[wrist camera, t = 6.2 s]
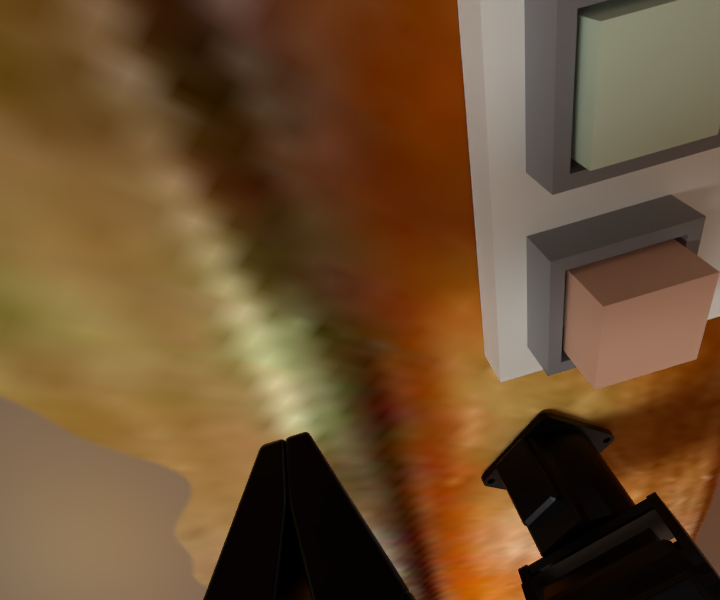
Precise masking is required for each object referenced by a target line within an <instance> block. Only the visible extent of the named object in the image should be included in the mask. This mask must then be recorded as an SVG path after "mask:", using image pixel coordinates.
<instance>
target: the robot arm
mask: <svg viewBox="0 0 720 600" xmlns="http://www.w3.org/2000/svg"><path fill="white" fill-rule="evenodd" d="M613 440H614V436H613V435H612V433H611V432H610V431H609V430H606V429H602V428H599V427H595V426H592V425H588V424H585V423H581V422H578V421H574V420H571V419H567V418H564V417H560V416H557V415H553V414H550V413H542V414H540V415H538V416H537V417H536V418H535V419H534V420H533V421H532V422H531V424H530V425H529V426H528V427H527V428H526V429H525V430H524V431H523V432H522V433H521V434H520V435H519V436H518V438H517V439H516V440H515V441H514V442H513V443H512V444H511V445H510V446H509V447H508V448H507V449H506V450H505V451H504V453H503V454H502V455H501V456H500V457H499V458H498V459H497V460H496V461H495V462H494V463H493V464H492V465H491V467H490V468H489V469H488V470H487V471H486V472H485V473H484V474H483V475H482V477H481V479H482V481H483V483H484V485H485V486H489V487H494V488H499V489H505V490H507V492H508V494H509V496H510V498H511V500H512V502H513V504H514V506H515V508H516V510H517V512H518V514H519V516H520V518H521V520H522V522H523V524H524V525H525V526H527V528H528V530H529V532H530V534H531V536H532V538H533V540H534V542H535V544H536V546H537V548H538V550H539V552H540V554H541V556H542V557H543V558H541V559H539V560H537V561H536V562H534V563H532V564H530V565H525V566H523V567H521V568H519V569H518V571H519V574H520V577H521V580H522V584H521V585H522V589H523V592H524V595H525V598H526V600H720V576H719V575H718V573H717V572H716V571H715V569H714V568H713V567H712V565H711V564H710V562H709V561H708V560H707V558H706V557H705V556H704V554H703V553H702V552H701V550H700V549H699V548H698V546H697V545H696V544H695V542H694V541H693V540H692V538H691V537H690V536H689V534H688V533H687V532H686V530H685V529H684V528H683V526H682V525H681V524H680V523H679V521H678V520H677V519H676V517H675V516H674V515H673V514H672V512H671V511H670V510H669V509H668V507H667V506H666V505H665V504H664V502H663V501H662V500H661V499H660V497H659V496H658V495H657V494H656V492H654V493H652V494H650V495H648V496H647V499H645V500H644V501H642V502H640V503H638V504H636V505H635V503H634V502H633V501H632V499H631V498H630V496H629V495H628V493H627V492H626V491H625V489H624V488H623V486H622V485H621V483H620V482H619V481H618V479H617V478H616V476H615V475H614V473H613V472H612V470H611V469H610V468H609V466H608V465H607V463H606V462H605V460H604V459H603V458H602V456H601V455H600V453H601V452H602V451H603V450H604V449H605V448H606V447H607V446H608V445H609V444H610V443H611V442H612V441H613ZM674 537H675V539H676V540H677V541H676V542H674V543H672V542H671V541H669V540H671V539H673V538H674ZM203 600H416V599H415V598H414V596H413V595H412V593H409V590H408V587H407V586H406V584H405V583H404V581H403V580H402V578H401V576H400V575H399V573H398V572H397V570H396V569H395V567H394V565H393V564H392V562H391V561H390V559H389V558H388V556H387V554H386V553H385V551H384V550H383V548H382V547H381V545H380V544H379V542H378V540H377V539H376V537H375V536H374V534H373V533H372V531H371V529H370V528H369V526H368V525H367V523H366V522H365V520H364V518H363V517H362V515H361V514H360V512H359V511H358V509H357V508H356V506H355V504H354V503H353V501H352V500H351V498H350V497H349V495H348V493H347V492H346V490H345V489H344V487H343V486H342V484H341V482H340V481H339V479H338V478H337V476H336V475H335V473H334V471H333V470H332V468H331V467H330V465H329V464H328V462H327V461H326V459H325V457H324V456H323V454H322V453H321V451H320V450H319V448H318V446H317V445H316V443H315V442H314V440H313V439H312V437H311V436H310V434H309V433H307V432H304V433H300V434H297V435H294V436H290V437H288V438H287V439H286V441H285V440H277V441H274V442H271V443H267V444H264V445H263V446H262V447H261V448H260V450H259V452H258V455H257V458H256V460H255V463H254V466H253V468H252V471H251V474H250V476H249V479H248V482H247V484H246V487H245V490H244V492H243V495H242V498H241V500H240V503H239V506H238V508H237V511H236V514H235V516H234V519H233V522H232V524H231V527H230V530H229V532H228V535H227V538H226V540H225V543H224V546H223V548H222V551H221V554H220V556H219V559H218V562H217V564H216V567H215V570H214V572H213V575H212V578H211V580H210V583H209V586H208V588H207V591H206V594H205V596H204V599H203Z"/></svg>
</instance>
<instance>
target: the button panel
mask: <svg viewBox="0 0 720 600" xmlns="http://www.w3.org/2000/svg"><path fill="white" fill-rule="evenodd" d="M604 1H608V0H457V2H458V15H459V28H460V40H461V53H462V66H463V79H464V92H465V105H466V118H467V131H468V144H469V157H470V170H471V182H472V195H473V208H474V221H475V234H476V247H477V260H478V273H479V286H480V299H481V312H482V324H483V337H484V350H485V357H486V358H487V360H488V362H489V363H490V365H491V367H492V369H493V370H494V372H495V374H496V375H497V377H498V379H499V380H500V382H504V381H507V380H510V379H514V378H517V377H520V376H524V375H527V374H530V373H534V372H537V371H540V370H544V371H545V373H546V374H547V375H548V376H549V375H552V374H556V373H559V372H562V371H566V370H569V369H572V368H576V366H575V364H574V363H573V362H572V361H571V359H570V358H569V357H568V356H567V354H566V353H565V352H564V350H563V341H564V320H565V300H566V279H567V270H569V269H572V268H576V267H579V266H582V265H586V264H589V263H593V262H596V261H599V260H603V259H606V258H610V257H613V256H616V255H620V254H623V253H627V252H630V251H633V250H637V249H640V248H643V247H647V246H650V245H654V244H657V243H660V242H664V241H667V240H671V239H675V240H676V241H678V242H679V243H680V244H682V245H683V246H685V247H686V248H687V249H689V250H690V251H691V252H693V253H694V254H696V255H697V256H698V257H700V258H701V259H703V260H704V261H705V262H707V263H708V264H710V265H711V266H712V267H714V268H715V269H717V270H718V271H719V272H720V127H719V132H718V134H717V135H714V136H710V137H707V138H704V139H700V140H697V141H693V142H690V143H686V144H683V145H679V146H676V147H672V148H669V149H665V150H662V151H658V152H655V153H651V154H648V155H644V156H641V157H637V158H634V159H630V160H627V161H623V162H620V163H616V164H613V165H609V166H606V167H602V168H599V169H596V170H592V171H589V170H588V169H586V168H585V167H583V166H582V165H581V164H579V163H578V162H576V161H575V160H573V159H572V158H571V139H572V117H573V96H574V74H575V53H576V31H577V10H578V8H582V7H586V6H589V5H593V4H597V3H600V2H604ZM718 316H720V274H719V277H718V281H717V285H716V289H715V292H714V296H713V300H712V303H711V307H710V311H709V315H708V318H707V320H709V319H712V318H715V317H718Z"/></svg>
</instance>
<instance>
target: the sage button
mask: <svg viewBox="0 0 720 600" xmlns="http://www.w3.org/2000/svg"><path fill="white" fill-rule="evenodd" d="M719 127H720V0H608V1H604V2H600V3H597V4H593V5H589V6H586V7H582V8H578V10H577V31H576V53H575V74H574V96H573V117H572V139H571V158H572V159H573V160H575V161H576V162H578V163H579V164H581V165H582V166H583V167H585V168H586V169H588V170H589V171H592V170H596V169H599V168H602V167H606V166H609V165H613V164H616V163H620V162H623V161H627V160H630V159H634V158H637V157H641V156H644V155H648V154H651V153H655V152H658V151H662V150H665V149H669V148H672V147H676V146H679V145H683V144H686V143H690V142H693V141H697V140H700V139H704V138H707V137H710V136H714V135H717V134H718V132H719Z"/></svg>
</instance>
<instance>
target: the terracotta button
mask: <svg viewBox="0 0 720 600" xmlns="http://www.w3.org/2000/svg"><path fill="white" fill-rule="evenodd" d="M719 274H720V272H719V271H718V270H717V269H715V268H714V267H712V266H711V265H710V264H708V263H707V262H705V261H704V260H703V259H701V258H700V257H698V256H697V255H696V254H694V253H693V252H691V251H690V250H689V249H687V248H686V247H685V246H683V245H682V244H680V243H679V242H678V241H676V240H675V239H671V240H667V241H664V242H660V243H657V244H654V245H650V246H647V247H643V248H640V249H637V250H633V251H630V252H627V253H623V254H620V255H616V256H613V257H610V258H606V259H603V260H599V261H596V262H593V263H589V264H586V265H582V266H579V267H576V268H572V269H569V270H567V279H566V300H565V320H564V341H563V350H564V352H565V353H566V354H567V356H568V357H569V358H570V359H571V361H572V362H573V363H574V364H575V366H576V367H577V368H578V370H579V371H580V372H581V373H582V375H583V376H584V377H585V379H586V380H587V381H588V382H589V384H590V385H591V386H592V388H593V389H594V390H597V389H600V388H603V387H607V386H610V385H613V384H616V383H620V382H623V381H626V380H630V379H633V378H636V377H639V376H643V375H646V374H649V373H652V372H656V371H659V370H662V369H666V368H669V367H672V366H675V365H679V364H682V363H685V362H688V361H692V360H695V359H697V356H698V352H699V348H700V345H701V341H702V337H703V333H704V330H705V326H706V322H707V318H708V315H709V311H710V307H711V303H712V300H713V296H714V292H715V289H716V285H717V281H718V277H719Z"/></svg>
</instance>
